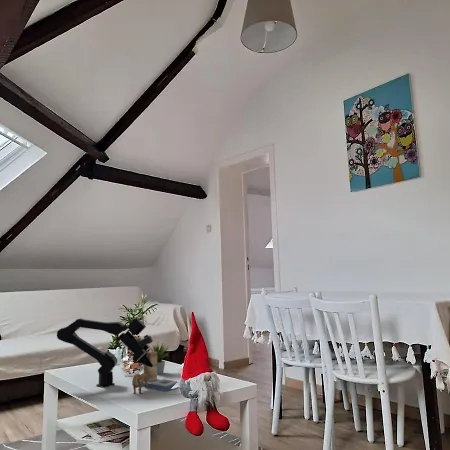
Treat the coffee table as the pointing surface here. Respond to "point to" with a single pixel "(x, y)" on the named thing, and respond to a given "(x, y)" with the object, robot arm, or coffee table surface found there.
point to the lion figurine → (139, 382)
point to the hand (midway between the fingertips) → (153, 365)
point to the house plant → (159, 354)
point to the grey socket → (163, 381)
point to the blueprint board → (158, 387)
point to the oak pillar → (151, 371)
